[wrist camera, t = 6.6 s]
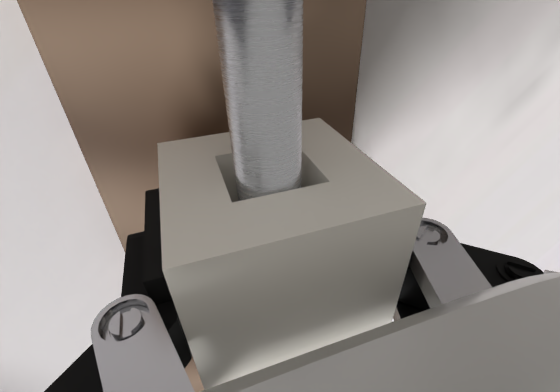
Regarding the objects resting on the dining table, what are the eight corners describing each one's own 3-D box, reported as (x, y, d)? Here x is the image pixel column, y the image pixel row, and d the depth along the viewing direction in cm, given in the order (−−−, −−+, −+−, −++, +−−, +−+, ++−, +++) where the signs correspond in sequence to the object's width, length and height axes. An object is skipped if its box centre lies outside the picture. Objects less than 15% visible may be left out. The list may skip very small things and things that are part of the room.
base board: (-75, -273, 6) (-126, -331, 5) (360, -214, 9) (392, -244, 8) (195, 399, 23) (197, 421, 22) (318, 354, 26) (326, 372, 25)
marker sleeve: (157, 142, 9) (162, 269, 5) (319, 117, 10) (426, 203, 6) (196, 284, 12) (217, 425, 8) (313, 252, 14) (379, 361, 10)
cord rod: (101, -146, 7) (5, -394, 2) (286, -135, 8) (466, -291, 3) (235, 403, 23) (257, 511, 18) (292, 381, 24) (327, 478, 19)
